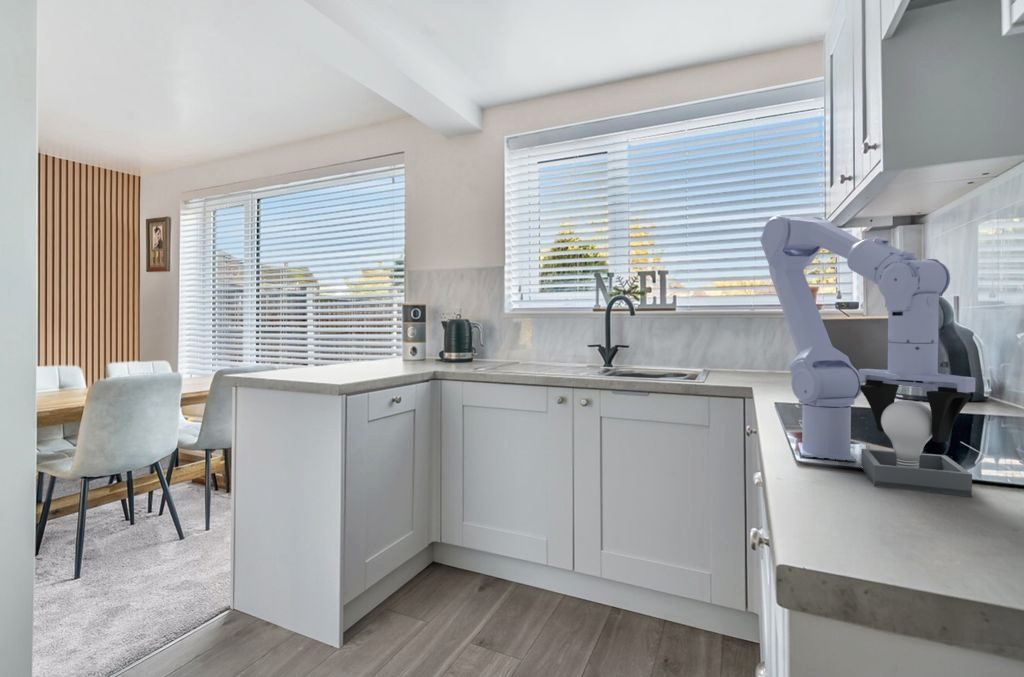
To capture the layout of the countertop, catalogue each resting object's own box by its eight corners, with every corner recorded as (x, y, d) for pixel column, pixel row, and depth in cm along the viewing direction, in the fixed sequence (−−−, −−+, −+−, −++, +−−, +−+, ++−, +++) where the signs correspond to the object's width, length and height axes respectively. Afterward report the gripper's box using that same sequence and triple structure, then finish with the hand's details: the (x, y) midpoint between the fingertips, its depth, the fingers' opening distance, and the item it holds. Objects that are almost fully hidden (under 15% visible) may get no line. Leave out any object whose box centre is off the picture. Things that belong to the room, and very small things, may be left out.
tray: (861, 467, 81) (861, 448, 81) (945, 475, 76) (946, 455, 76) (874, 486, 71) (874, 465, 71) (971, 496, 67) (972, 474, 67)
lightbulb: (945, 484, 69) (946, 404, 69) (891, 480, 71) (891, 403, 71) (923, 471, 75) (923, 398, 75) (873, 468, 77) (874, 396, 77)
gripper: (844, 341, 79) (844, 428, 79) (951, 345, 65) (949, 449, 65) (877, 340, 81) (876, 424, 81) (986, 344, 67) (984, 445, 68)
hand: (911, 435), depth 74 cm, fingers open, 7 cm apart
